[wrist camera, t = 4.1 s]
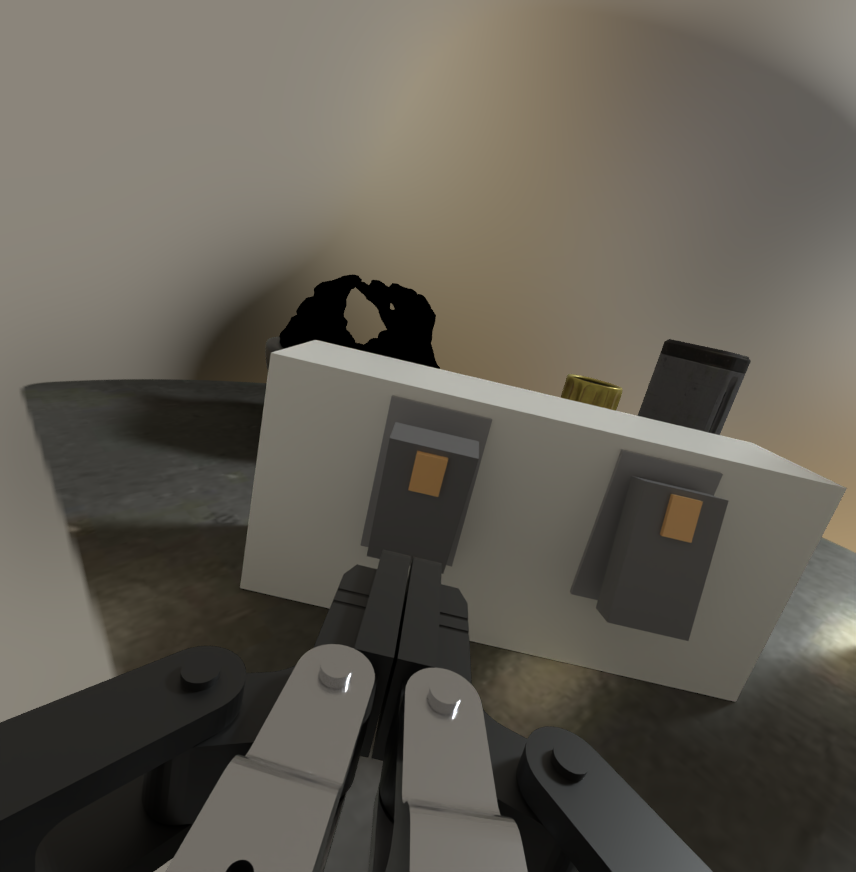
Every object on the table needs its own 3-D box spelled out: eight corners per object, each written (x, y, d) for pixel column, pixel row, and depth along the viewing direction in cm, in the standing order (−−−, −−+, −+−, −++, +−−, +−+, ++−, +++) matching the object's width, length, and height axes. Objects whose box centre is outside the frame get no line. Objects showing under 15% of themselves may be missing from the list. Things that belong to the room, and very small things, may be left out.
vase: (591, 523, 49) (639, 391, 45) (558, 532, 45) (607, 388, 41) (544, 497, 54) (584, 374, 50) (510, 503, 49) (551, 370, 45)
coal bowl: (427, 487, 48) (473, 301, 43) (228, 449, 46) (251, 248, 41) (421, 431, 68) (452, 297, 62) (280, 402, 65) (300, 261, 60)
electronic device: (694, 508, 62) (757, 359, 56) (665, 509, 59) (729, 351, 54) (637, 478, 70) (688, 344, 64) (609, 477, 67) (660, 337, 61)
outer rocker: (373, 535, 25) (395, 422, 22) (445, 552, 25) (479, 441, 22) (365, 559, 24) (388, 440, 20) (443, 577, 24) (478, 461, 20)
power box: (286, 525, 35) (315, 339, 31) (675, 615, 36) (751, 442, 32) (237, 591, 27) (268, 353, 23) (738, 705, 28) (851, 490, 24)
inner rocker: (595, 607, 24) (631, 475, 24) (671, 625, 24) (708, 493, 24) (609, 624, 22) (648, 482, 22) (691, 643, 22) (732, 501, 22)
